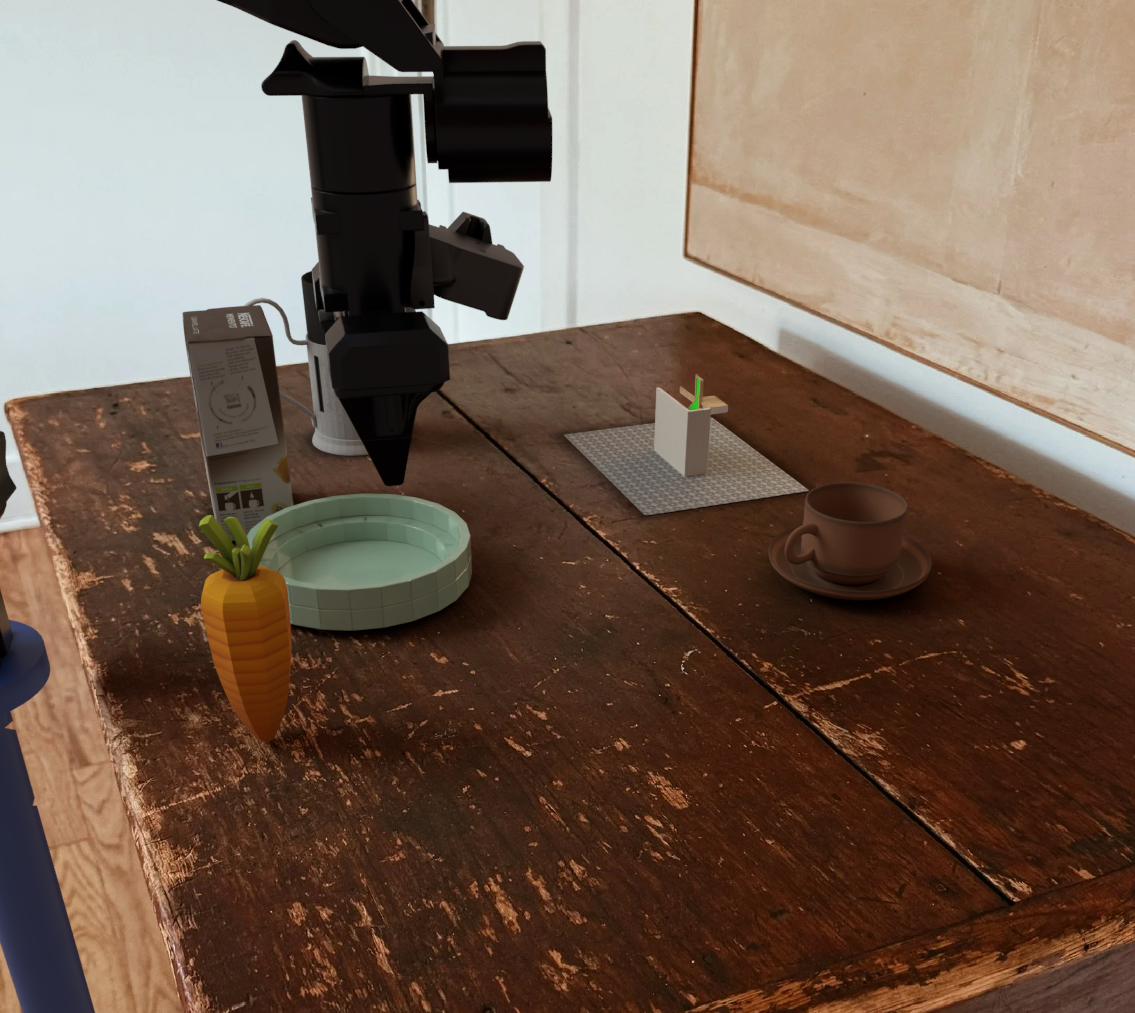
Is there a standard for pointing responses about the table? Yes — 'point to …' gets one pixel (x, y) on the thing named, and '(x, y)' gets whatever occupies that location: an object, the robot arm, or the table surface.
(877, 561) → the cup and saucer
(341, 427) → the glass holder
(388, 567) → the bowl
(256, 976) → the table surface
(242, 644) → the carrot
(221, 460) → the coffee box
